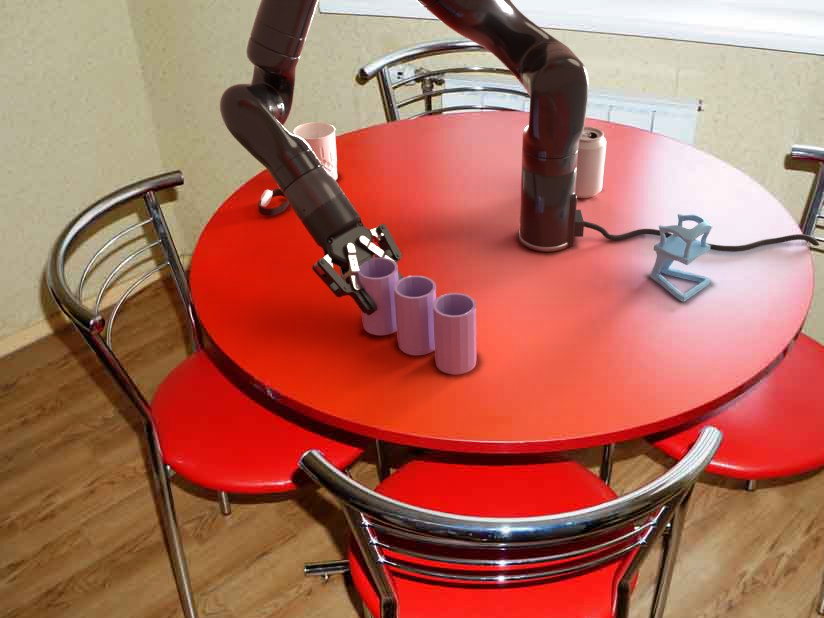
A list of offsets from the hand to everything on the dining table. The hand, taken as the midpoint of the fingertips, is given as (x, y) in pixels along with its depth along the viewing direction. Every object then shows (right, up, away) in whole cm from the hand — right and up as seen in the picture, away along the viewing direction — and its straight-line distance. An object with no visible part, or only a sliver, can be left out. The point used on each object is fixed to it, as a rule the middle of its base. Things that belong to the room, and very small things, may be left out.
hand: (388, 302), depth 126 cm
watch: (-25, +20, +32) cm, 46 cm away
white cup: (-19, +28, +42) cm, 54 cm away
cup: (+10, -9, -3) cm, 14 cm away
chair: (+45, +4, +14) cm, 48 cm away
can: (+32, +25, +39) cm, 57 cm away
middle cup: (+4, -6, +1) cm, 7 cm away
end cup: (-1, -3, +4) cm, 5 cm away
